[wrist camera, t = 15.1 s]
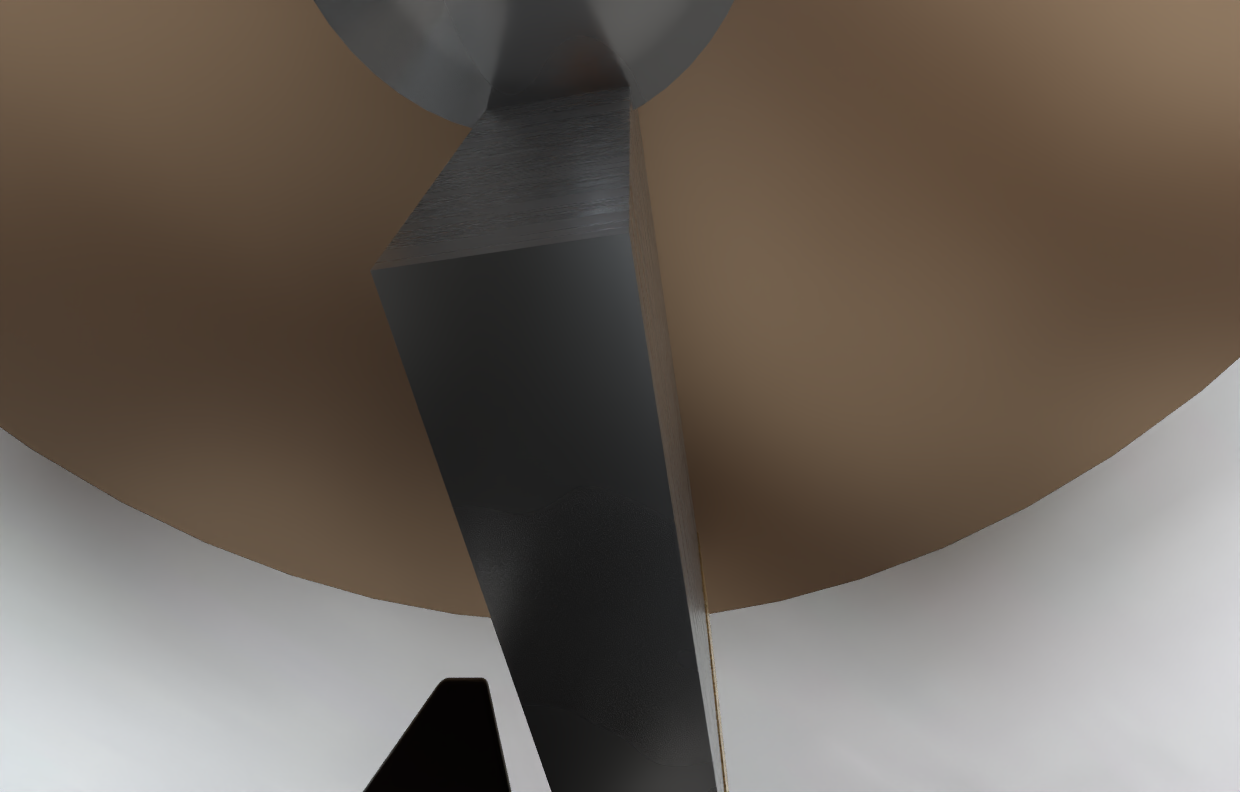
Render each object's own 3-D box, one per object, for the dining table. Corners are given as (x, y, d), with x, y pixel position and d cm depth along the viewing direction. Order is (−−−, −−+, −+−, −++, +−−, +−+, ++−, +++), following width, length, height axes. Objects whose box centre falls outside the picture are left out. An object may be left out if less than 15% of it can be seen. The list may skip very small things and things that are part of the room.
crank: (269, -338, 6) (-506, -869, 2) (722, -439, 6) (959, -1341, 2) (546, 609, 12) (499, 1005, 8) (786, 584, 12) (879, 983, 7)
